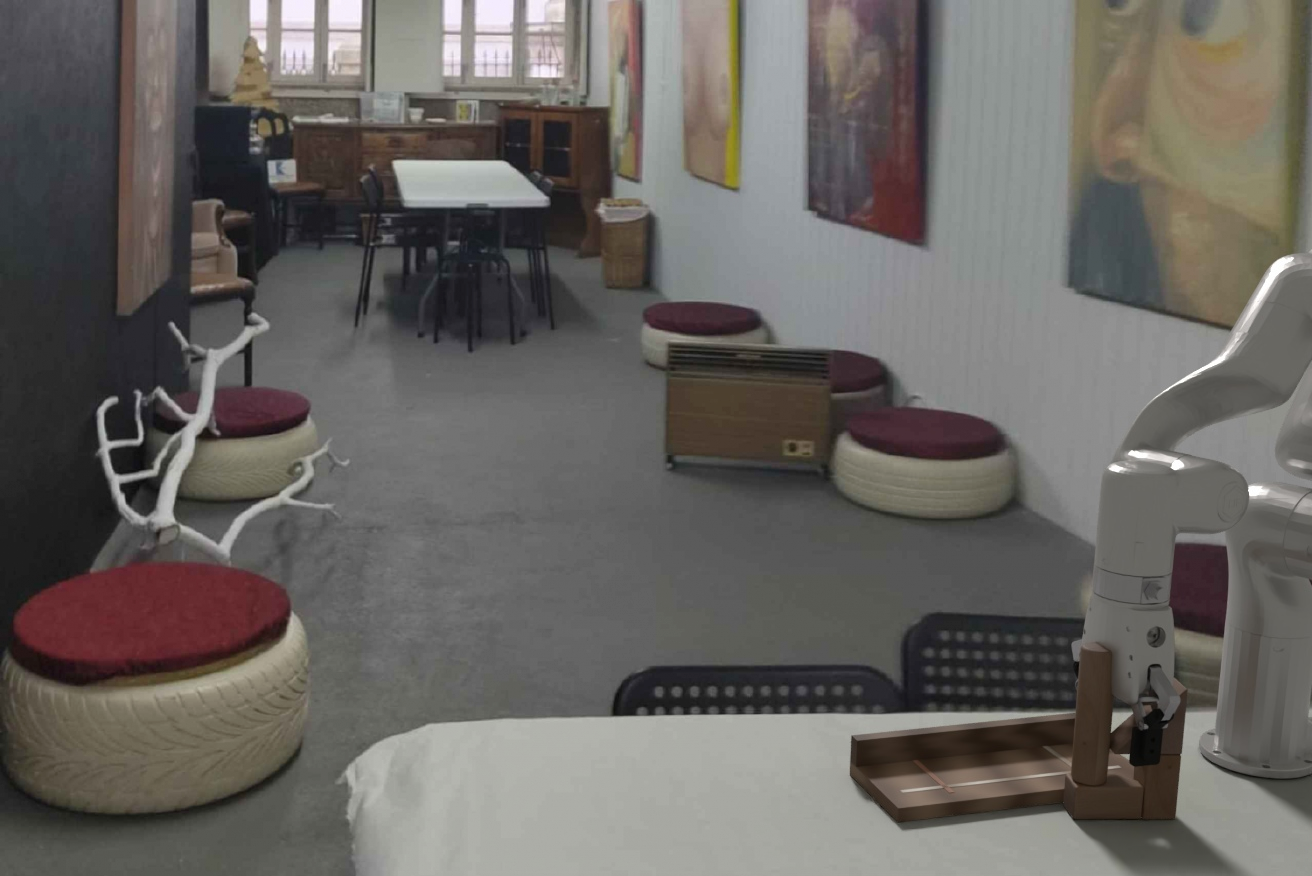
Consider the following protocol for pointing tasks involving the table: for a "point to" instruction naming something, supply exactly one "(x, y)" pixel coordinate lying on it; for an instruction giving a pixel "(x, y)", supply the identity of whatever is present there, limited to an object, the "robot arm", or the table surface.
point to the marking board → (969, 766)
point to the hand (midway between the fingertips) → (1116, 746)
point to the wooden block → (1117, 752)
